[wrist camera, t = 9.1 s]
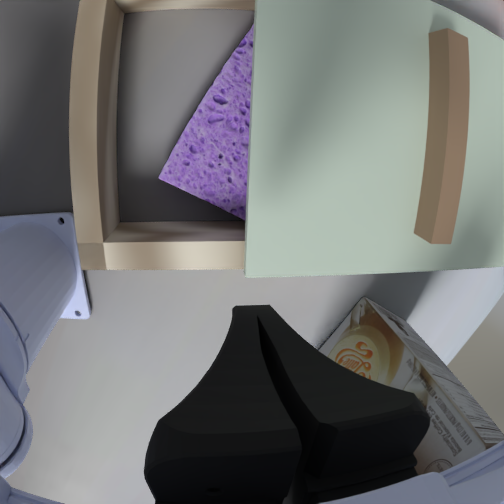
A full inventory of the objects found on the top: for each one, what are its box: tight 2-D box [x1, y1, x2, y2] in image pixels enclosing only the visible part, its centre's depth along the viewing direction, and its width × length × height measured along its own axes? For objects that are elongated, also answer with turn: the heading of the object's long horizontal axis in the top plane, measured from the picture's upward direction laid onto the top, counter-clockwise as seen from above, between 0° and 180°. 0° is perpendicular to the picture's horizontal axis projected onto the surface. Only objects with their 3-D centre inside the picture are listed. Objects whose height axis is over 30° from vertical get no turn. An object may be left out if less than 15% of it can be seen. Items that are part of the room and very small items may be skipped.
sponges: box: [158, 24, 254, 221], centre depth 17 cm, size 7×13×2 cm, turn 149°
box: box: [69, 0, 255, 270], centre depth 17 cm, size 21×17×4 cm
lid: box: [244, 0, 504, 278], centre depth 15 cm, size 21×17×3 cm
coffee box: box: [319, 297, 504, 475], centre depth 19 cm, size 9×6×16 cm
